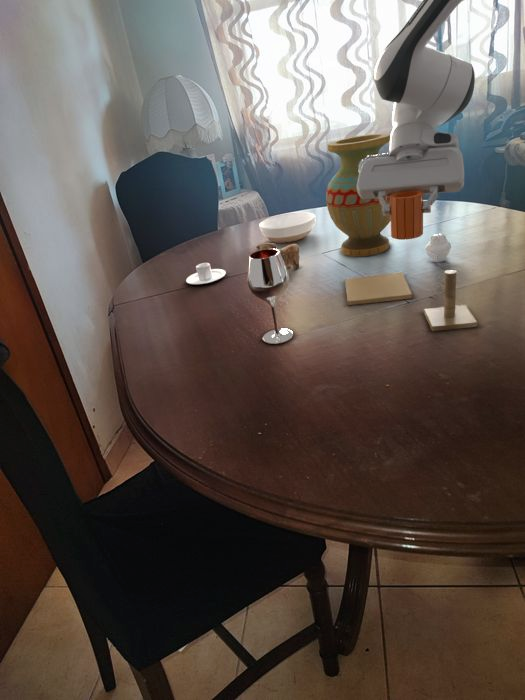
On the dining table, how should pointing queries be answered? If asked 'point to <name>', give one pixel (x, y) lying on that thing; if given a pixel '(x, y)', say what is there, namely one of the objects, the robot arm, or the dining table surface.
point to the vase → (357, 197)
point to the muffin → (438, 248)
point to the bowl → (288, 226)
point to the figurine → (285, 253)
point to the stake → (450, 309)
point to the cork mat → (377, 288)
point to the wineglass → (269, 287)
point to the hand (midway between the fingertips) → (406, 212)
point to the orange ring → (406, 214)
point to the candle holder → (205, 274)
